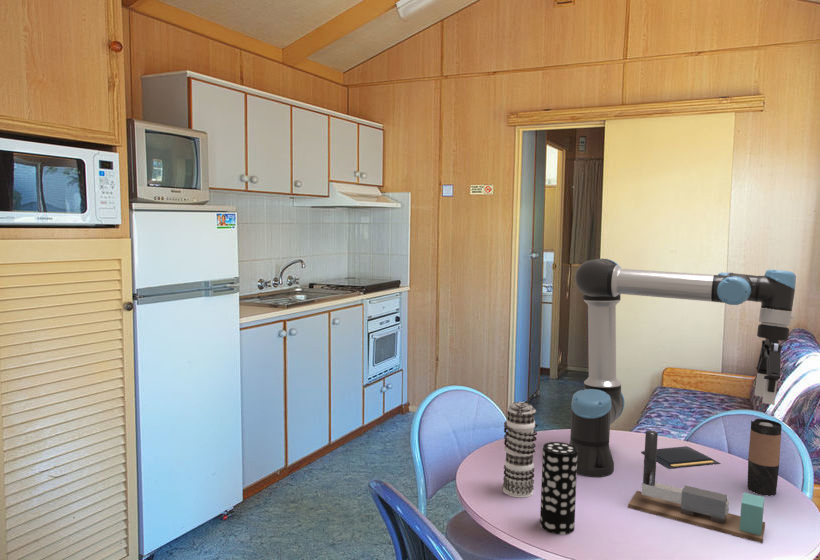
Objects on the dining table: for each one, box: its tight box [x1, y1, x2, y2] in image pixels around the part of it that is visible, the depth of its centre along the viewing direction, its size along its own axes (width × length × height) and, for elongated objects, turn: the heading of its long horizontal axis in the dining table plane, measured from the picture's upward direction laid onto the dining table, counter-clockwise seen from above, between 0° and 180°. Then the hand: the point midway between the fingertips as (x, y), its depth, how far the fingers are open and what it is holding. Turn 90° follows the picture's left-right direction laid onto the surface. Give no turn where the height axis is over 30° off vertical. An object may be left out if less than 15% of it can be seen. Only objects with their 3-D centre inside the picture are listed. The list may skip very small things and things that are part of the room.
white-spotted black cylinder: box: [539, 441, 578, 535], centre depth 146 cm, size 8×8×20 cm
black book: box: [640, 445, 722, 470], centre depth 194 cm, size 20×2×15 cm
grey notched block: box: [681, 484, 728, 524], centre depth 152 cm, size 10×5×6 cm, turn 56°
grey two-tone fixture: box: [641, 430, 730, 516], centre depth 154 cm, size 20×3×17 cm, turn 56°
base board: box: [627, 490, 766, 544], centre depth 153 cm, size 31×10×1 cm, turn 56°
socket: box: [739, 492, 765, 536], centre depth 146 cm, size 4×7×7 cm, turn 146°
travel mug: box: [747, 418, 783, 497], centre depth 169 cm, size 8×8×20 cm
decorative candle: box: [502, 401, 538, 499], centre depth 166 cm, size 9×9×25 cm
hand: (763, 400), depth 166 cm, fingers open, 13 cm apart
